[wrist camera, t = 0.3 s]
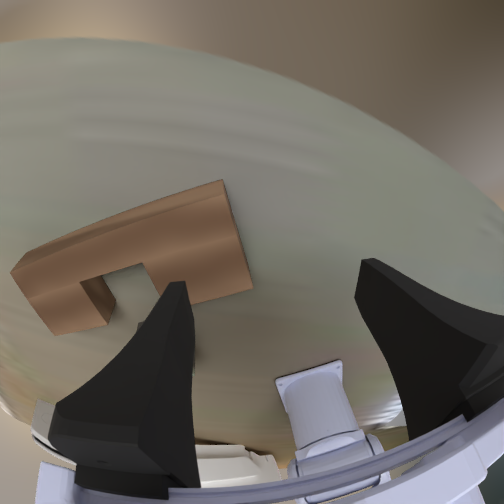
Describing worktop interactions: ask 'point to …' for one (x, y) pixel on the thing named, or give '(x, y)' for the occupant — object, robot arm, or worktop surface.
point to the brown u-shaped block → (137, 258)
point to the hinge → (45, 428)
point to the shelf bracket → (234, 466)
